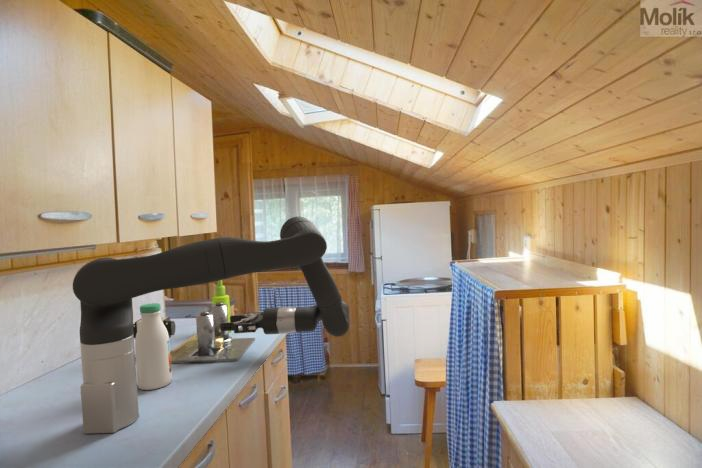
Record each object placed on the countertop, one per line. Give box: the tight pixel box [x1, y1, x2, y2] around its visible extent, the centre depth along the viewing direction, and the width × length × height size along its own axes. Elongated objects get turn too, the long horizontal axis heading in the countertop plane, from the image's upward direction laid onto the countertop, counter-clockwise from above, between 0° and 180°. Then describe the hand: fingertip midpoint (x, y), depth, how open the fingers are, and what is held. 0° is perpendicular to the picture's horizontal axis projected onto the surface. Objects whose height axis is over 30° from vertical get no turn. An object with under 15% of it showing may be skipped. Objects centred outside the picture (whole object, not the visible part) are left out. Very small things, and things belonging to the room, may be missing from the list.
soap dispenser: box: [211, 280, 232, 334], centre depth 148 cm, size 6×7×20 cm
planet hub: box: [195, 310, 216, 356], centre depth 120 cm, size 5×5×13 cm
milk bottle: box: [134, 302, 173, 391], centre depth 102 cm, size 8×8×20 cm
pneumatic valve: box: [133, 316, 176, 340], centre depth 126 cm, size 6×12×12 cm, turn 97°
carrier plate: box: [170, 302, 256, 364], centre depth 127 cm, size 21×20×14 cm
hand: (225, 323), depth 120 cm, fingers open, 8 cm apart
